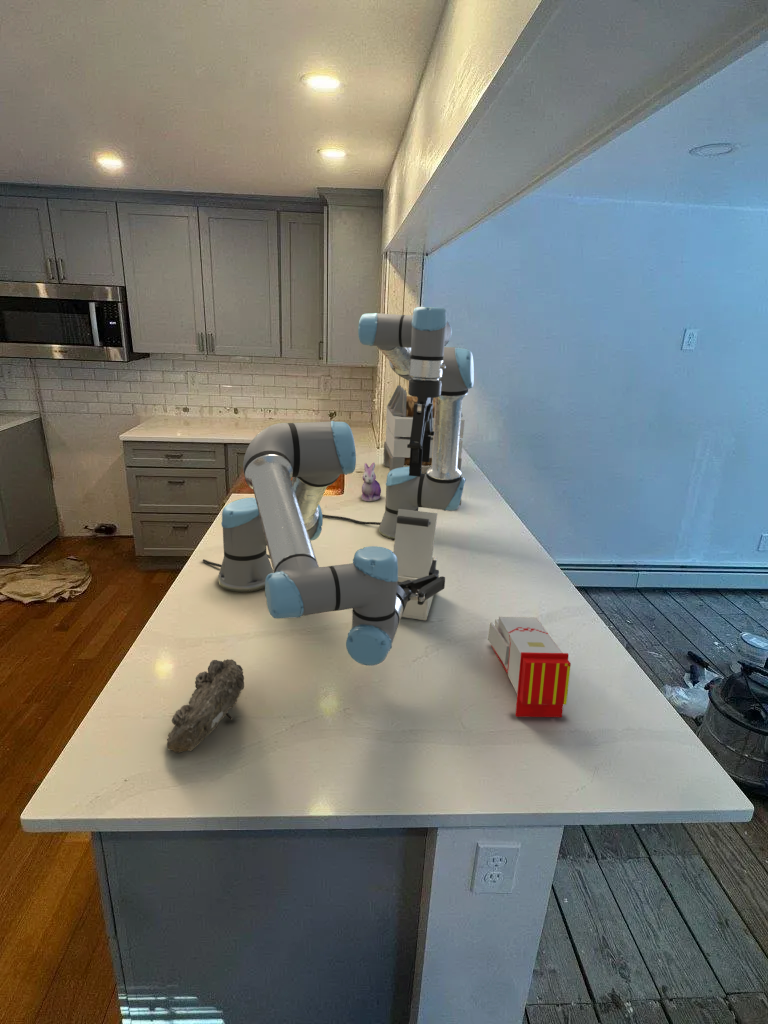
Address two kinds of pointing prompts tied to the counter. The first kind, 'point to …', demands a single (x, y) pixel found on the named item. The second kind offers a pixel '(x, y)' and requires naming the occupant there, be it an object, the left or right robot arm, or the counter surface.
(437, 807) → the counter surface
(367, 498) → the figurine
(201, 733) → the fossil
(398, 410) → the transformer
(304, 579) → the left robot arm
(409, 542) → the lid
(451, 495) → the right robot arm
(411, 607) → the white open box
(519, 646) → the toy
